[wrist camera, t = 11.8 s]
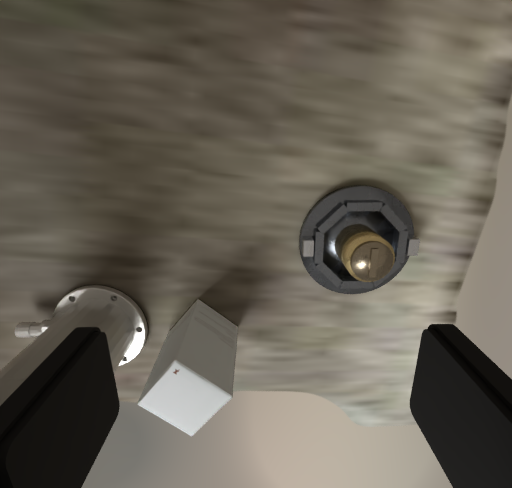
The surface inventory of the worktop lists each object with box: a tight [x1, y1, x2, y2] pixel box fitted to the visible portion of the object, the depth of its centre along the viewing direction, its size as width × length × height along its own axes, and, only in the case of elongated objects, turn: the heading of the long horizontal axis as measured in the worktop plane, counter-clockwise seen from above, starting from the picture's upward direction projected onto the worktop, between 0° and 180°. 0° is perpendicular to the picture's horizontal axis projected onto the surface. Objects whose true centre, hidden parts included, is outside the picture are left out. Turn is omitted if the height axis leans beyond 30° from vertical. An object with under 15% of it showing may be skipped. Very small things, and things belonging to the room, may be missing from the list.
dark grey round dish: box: [299, 185, 420, 294], centre depth 39 cm, size 14×14×3 cm
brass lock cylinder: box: [335, 224, 395, 282], centre depth 36 cm, size 5×5×6 cm
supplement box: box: [138, 299, 238, 436], centre depth 38 cm, size 7×7×13 cm
